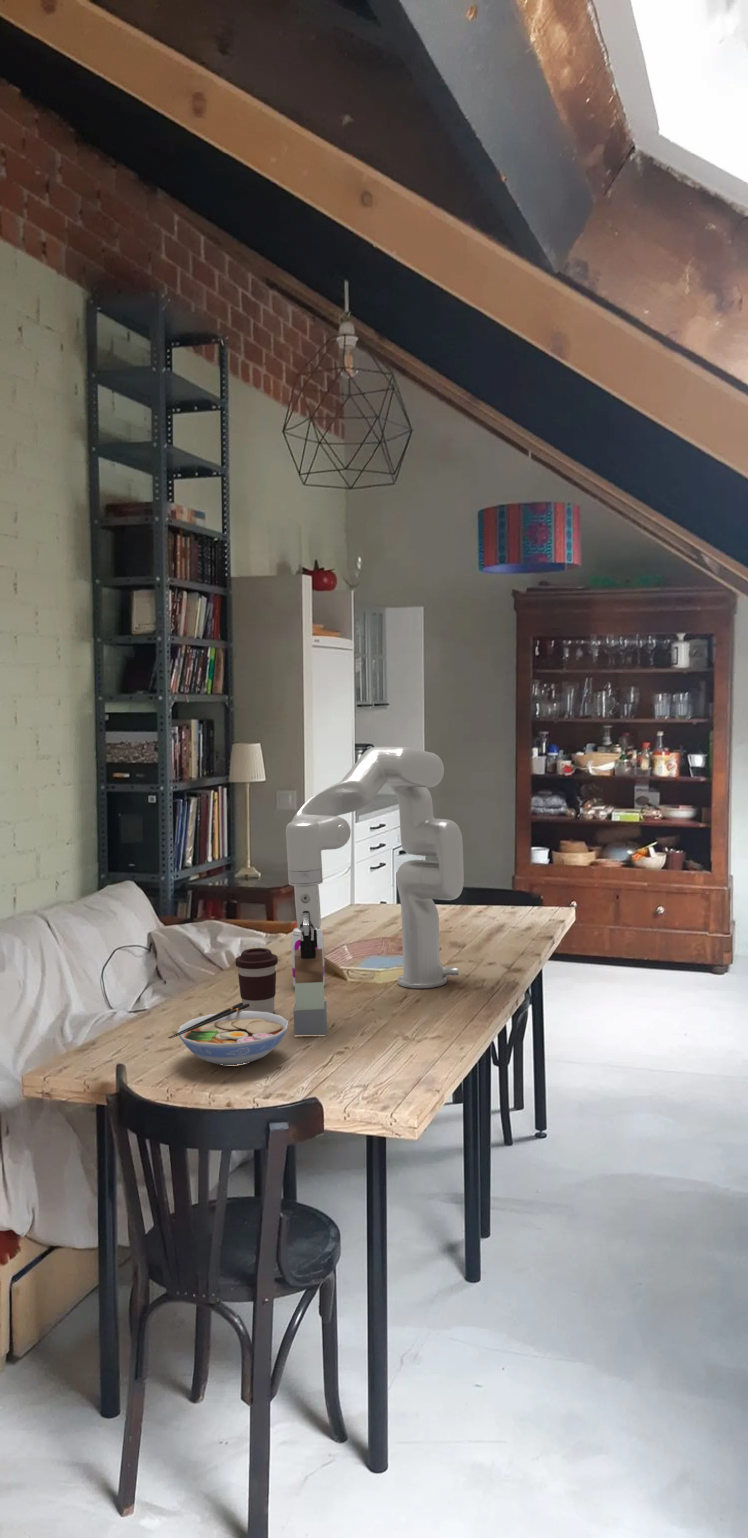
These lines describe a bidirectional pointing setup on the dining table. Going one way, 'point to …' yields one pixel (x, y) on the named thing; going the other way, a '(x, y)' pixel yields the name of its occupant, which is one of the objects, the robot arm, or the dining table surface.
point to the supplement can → (296, 946)
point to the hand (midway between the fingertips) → (309, 952)
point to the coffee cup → (257, 979)
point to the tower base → (310, 1021)
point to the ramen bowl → (233, 1035)
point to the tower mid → (309, 996)
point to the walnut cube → (308, 968)
